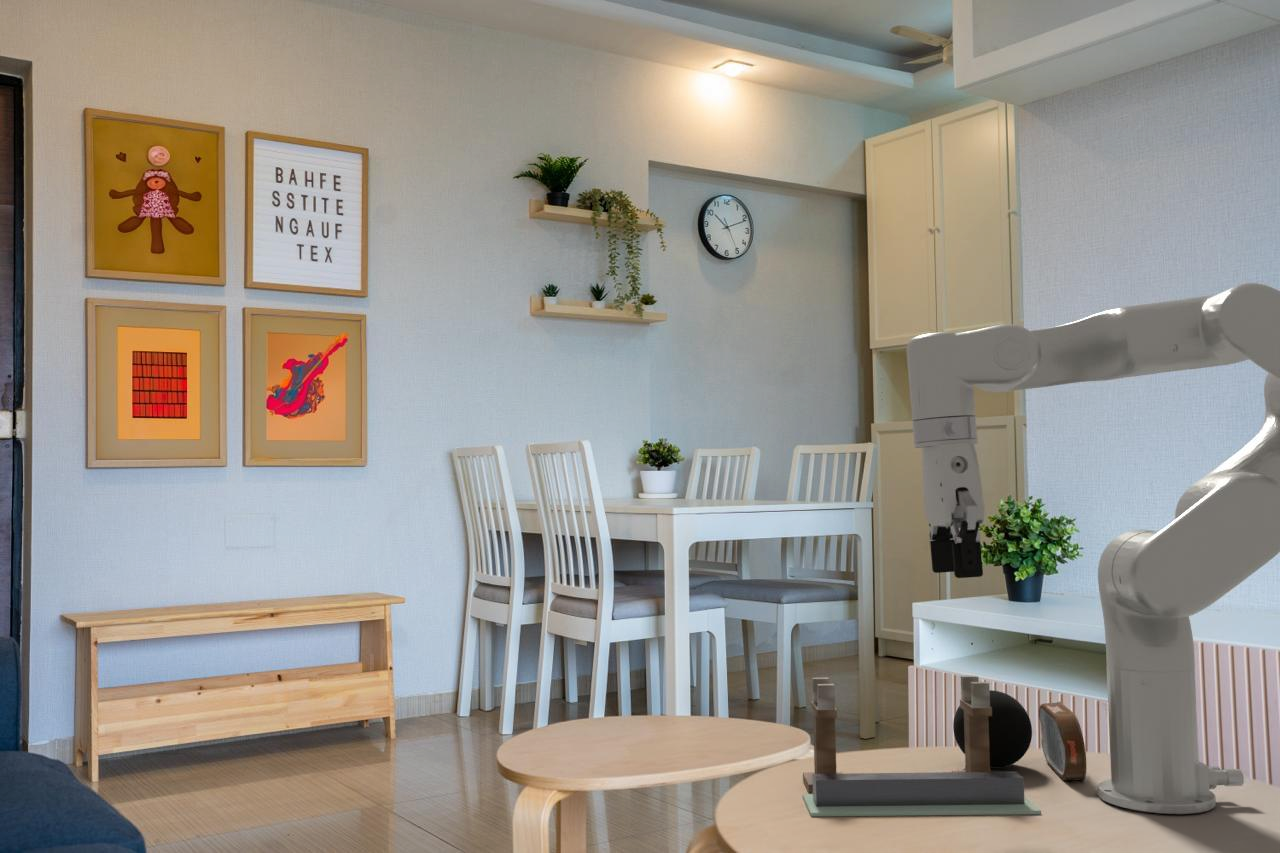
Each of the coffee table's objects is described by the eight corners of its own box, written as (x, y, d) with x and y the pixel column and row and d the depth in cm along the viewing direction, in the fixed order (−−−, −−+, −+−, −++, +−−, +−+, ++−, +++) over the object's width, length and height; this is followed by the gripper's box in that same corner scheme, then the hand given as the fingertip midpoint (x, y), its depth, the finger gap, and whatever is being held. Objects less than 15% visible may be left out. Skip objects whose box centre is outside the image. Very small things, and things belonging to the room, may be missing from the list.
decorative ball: (1021, 758, 153) (1019, 684, 154) (1043, 776, 143) (1039, 697, 144) (947, 758, 154) (945, 684, 154) (963, 776, 144) (961, 697, 144)
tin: (1089, 787, 137) (1086, 718, 138) (1063, 787, 138) (1060, 718, 138) (1061, 759, 152) (1059, 696, 153) (1037, 758, 153) (1035, 696, 153)
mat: (1019, 795, 134) (1018, 791, 134) (1041, 814, 126) (1041, 810, 126) (802, 797, 135) (802, 794, 135) (811, 816, 127) (810, 812, 127)
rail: (1016, 797, 132) (1015, 771, 132) (1024, 804, 129) (1023, 777, 129) (813, 799, 132) (812, 773, 133) (816, 806, 129) (815, 780, 130)
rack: (991, 778, 142) (987, 675, 143) (1005, 790, 136) (1001, 683, 137) (802, 780, 143) (800, 677, 144) (808, 792, 137) (806, 685, 138)
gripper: (998, 427, 128) (1011, 577, 127) (955, 436, 145) (966, 568, 144) (933, 431, 128) (945, 581, 127) (898, 440, 145) (908, 572, 144)
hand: (956, 574), depth 135 cm, fingers open, 9 cm apart
